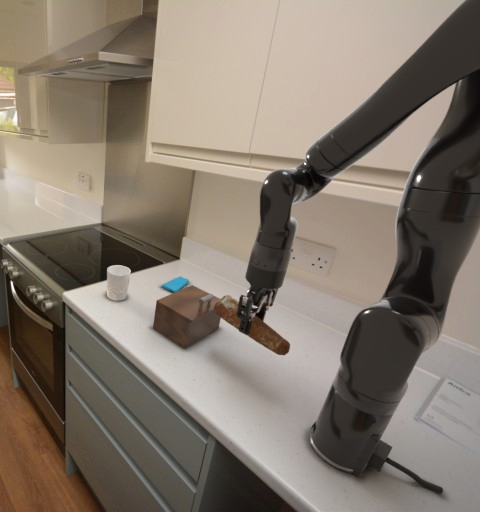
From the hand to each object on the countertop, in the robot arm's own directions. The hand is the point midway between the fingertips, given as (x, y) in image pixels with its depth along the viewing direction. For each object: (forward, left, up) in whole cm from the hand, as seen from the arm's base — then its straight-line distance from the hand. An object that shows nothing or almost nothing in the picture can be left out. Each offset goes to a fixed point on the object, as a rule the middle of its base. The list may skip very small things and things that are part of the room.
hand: (250, 327), depth 80 cm
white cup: (+46, 0, -14) cm, 48 cm away
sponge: (+39, -24, -14) cm, 48 cm away
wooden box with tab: (+19, -5, -5) cm, 20 cm away
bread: (0, 0, -2) cm, 2 cm away
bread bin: (+20, -5, -14) cm, 24 cm away
